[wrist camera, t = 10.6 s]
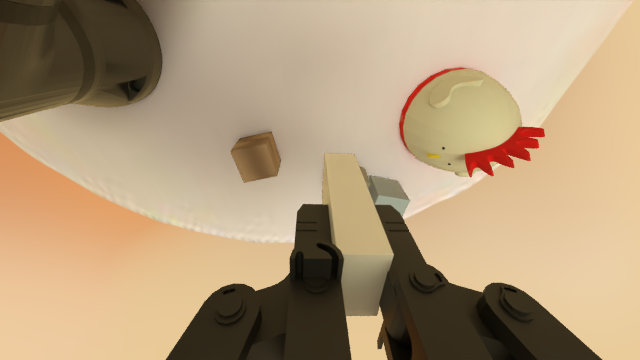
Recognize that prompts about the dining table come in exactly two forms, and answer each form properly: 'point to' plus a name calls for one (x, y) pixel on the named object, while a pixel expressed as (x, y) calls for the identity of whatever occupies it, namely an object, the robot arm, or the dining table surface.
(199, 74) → the dining table surface
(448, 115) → the kitchen timer
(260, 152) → the walnut block
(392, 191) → the slate block
